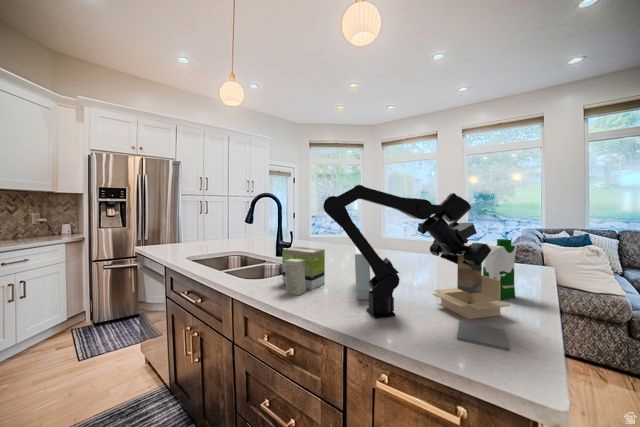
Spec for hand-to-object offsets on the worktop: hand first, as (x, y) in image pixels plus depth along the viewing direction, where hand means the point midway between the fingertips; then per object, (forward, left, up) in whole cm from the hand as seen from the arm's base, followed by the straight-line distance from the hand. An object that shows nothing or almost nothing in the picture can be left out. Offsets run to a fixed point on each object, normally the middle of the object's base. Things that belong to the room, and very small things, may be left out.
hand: (473, 268), depth 80 cm
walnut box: (-1, 0, -7) cm, 7 cm away
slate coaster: (-11, -14, -13) cm, 22 cm away
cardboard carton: (-3, 0, -13) cm, 13 cm away
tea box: (-44, +41, -13) cm, 62 cm away
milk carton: (+19, +8, -13) cm, 24 cm away
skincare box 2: (-24, +27, -13) cm, 39 cm away
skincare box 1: (-49, +31, -13) cm, 60 cm away
